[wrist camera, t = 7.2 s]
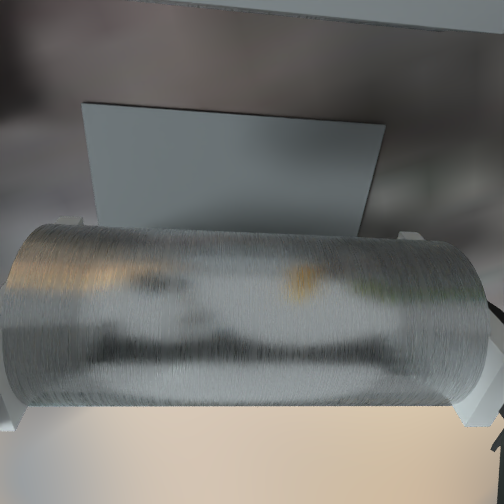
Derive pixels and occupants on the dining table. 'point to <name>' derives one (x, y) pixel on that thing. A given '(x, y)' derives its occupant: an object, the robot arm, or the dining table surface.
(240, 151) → the mat
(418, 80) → the dining table surface
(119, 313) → the roller
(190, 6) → the roller bed
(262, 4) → the stone slab
